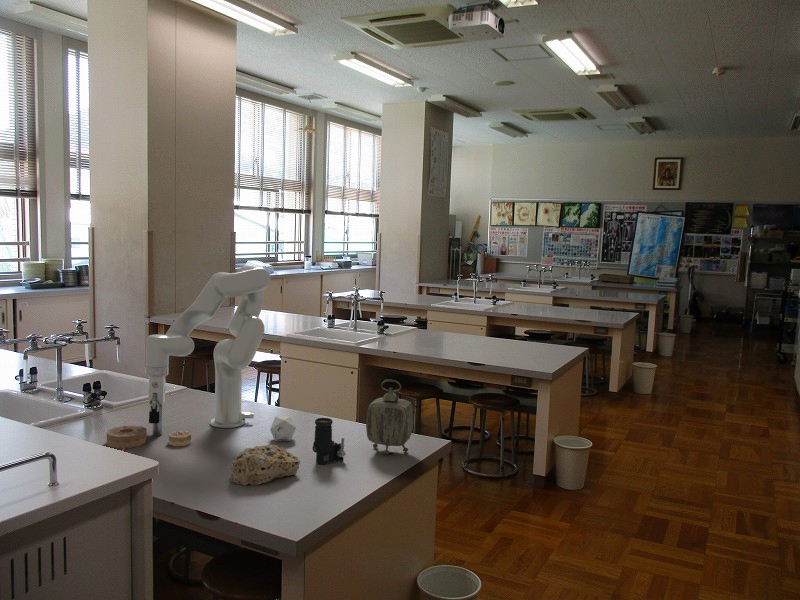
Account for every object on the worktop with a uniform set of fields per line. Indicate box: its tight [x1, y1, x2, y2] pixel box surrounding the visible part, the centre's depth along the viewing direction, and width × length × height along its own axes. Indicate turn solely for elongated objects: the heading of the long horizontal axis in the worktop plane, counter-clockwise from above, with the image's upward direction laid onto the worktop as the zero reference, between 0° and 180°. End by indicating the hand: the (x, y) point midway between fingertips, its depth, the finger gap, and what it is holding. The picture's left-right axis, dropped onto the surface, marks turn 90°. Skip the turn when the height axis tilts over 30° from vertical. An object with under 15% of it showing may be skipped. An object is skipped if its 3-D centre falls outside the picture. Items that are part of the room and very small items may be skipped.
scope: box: [312, 417, 346, 466], centre depth 204 cm, size 8×14×10 cm
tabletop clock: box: [365, 378, 415, 456], centre depth 215 cm, size 14×9×25 cm, turn 74°
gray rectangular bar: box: [151, 404, 164, 437], centre depth 224 cm, size 3×3×12 cm
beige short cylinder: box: [168, 430, 192, 447], centre depth 217 cm, size 7×7×3 cm
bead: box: [106, 424, 148, 449], centre depth 215 cm, size 12×12×4 cm
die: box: [269, 415, 297, 442], centre depth 224 cm, size 8×9×10 cm
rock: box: [230, 444, 301, 486], centre depth 191 cm, size 21×14×10 cm
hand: (155, 419), depth 224 cm, fingers open, 9 cm apart
